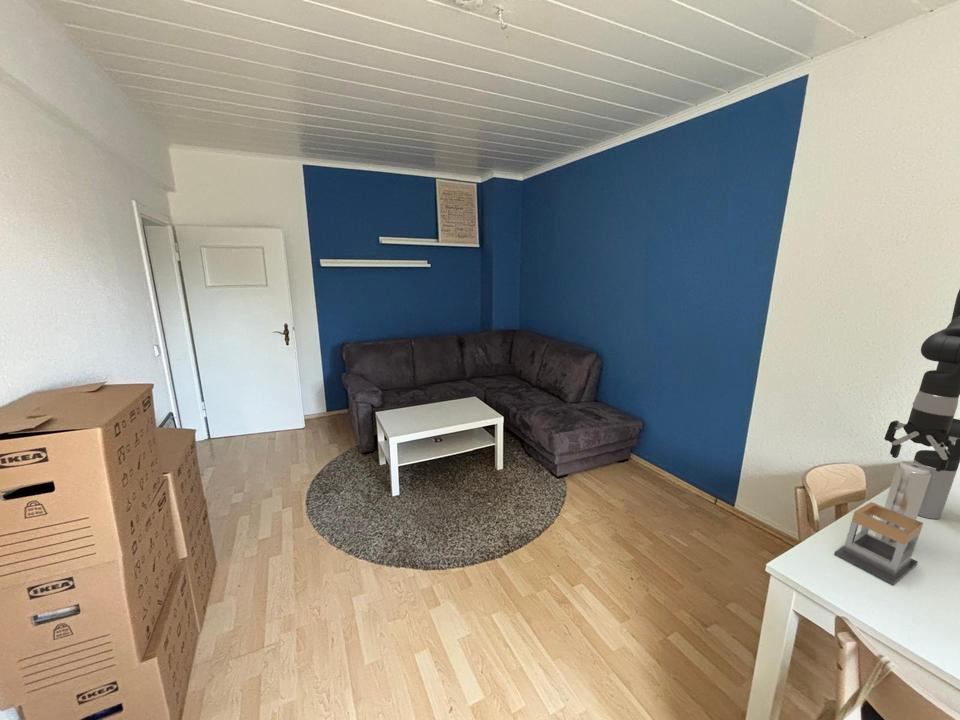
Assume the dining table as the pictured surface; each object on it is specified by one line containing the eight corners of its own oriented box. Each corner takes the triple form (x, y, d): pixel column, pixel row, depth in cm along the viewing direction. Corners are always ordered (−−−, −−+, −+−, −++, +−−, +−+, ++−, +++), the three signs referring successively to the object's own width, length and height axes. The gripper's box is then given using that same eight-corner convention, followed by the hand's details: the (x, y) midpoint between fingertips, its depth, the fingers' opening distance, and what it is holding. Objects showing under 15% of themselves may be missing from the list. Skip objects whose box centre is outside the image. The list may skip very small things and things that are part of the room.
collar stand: (859, 537, 116) (871, 497, 112) (916, 564, 105) (931, 521, 102) (834, 554, 109) (845, 512, 105) (892, 585, 98) (908, 540, 95)
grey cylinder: (913, 551, 110) (940, 472, 104) (886, 547, 112) (911, 470, 106) (894, 536, 117) (918, 461, 111) (869, 533, 118) (892, 458, 112)
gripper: (979, 416, 100) (959, 472, 103) (901, 399, 112) (886, 450, 116) (969, 421, 96) (949, 479, 100) (891, 402, 109) (876, 455, 112)
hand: (915, 463), depth 108 cm, fingers open, 8 cm apart
